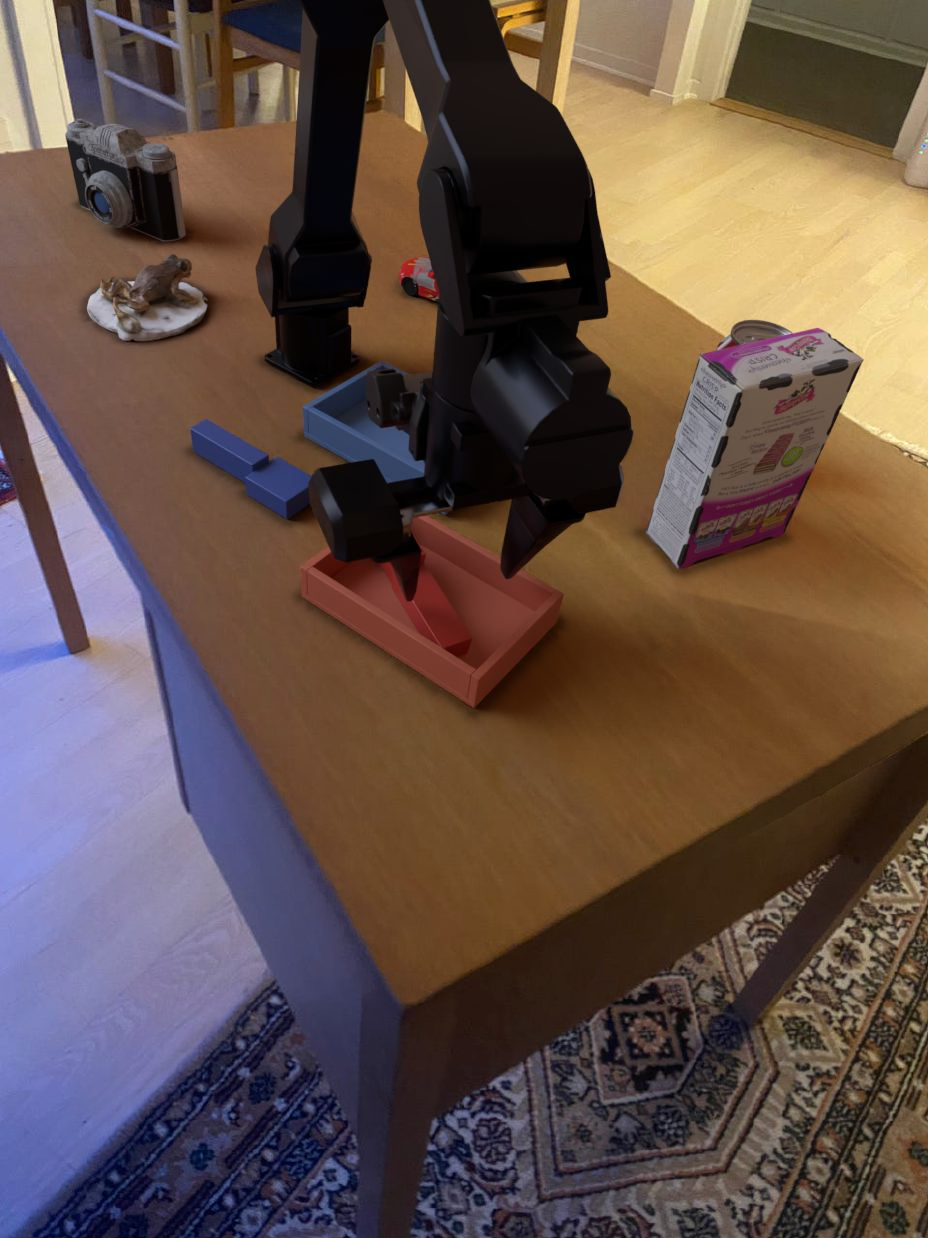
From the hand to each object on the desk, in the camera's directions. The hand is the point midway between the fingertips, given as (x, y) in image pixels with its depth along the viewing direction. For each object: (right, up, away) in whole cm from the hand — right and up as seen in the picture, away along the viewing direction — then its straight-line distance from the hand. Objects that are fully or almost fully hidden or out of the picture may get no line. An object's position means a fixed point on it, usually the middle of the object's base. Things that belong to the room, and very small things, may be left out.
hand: (457, 585), depth 61 cm
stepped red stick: (-2, 0, +2) cm, 3 cm away
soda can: (+23, +12, +20) cm, 33 cm away
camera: (-38, +42, +39) cm, 68 cm away
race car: (-1, +32, +35) cm, 47 cm away
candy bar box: (+21, +4, +12) cm, 24 cm away
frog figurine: (-31, +28, +28) cm, 50 cm away
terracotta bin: (-2, -2, +3) cm, 4 cm away
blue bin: (-4, +12, +16) cm, 21 cm away
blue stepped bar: (-17, +9, +12) cm, 22 cm away
